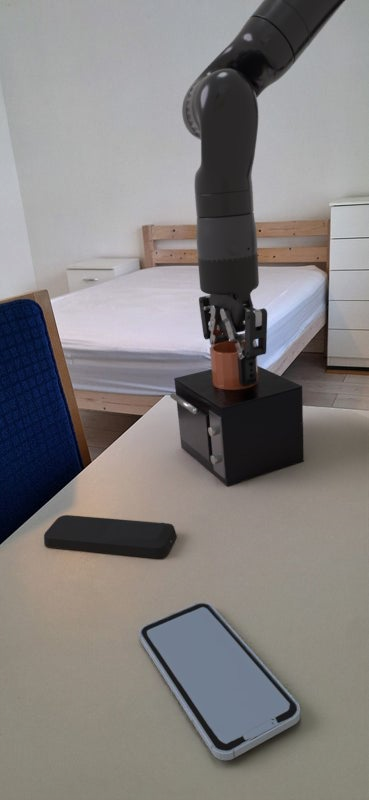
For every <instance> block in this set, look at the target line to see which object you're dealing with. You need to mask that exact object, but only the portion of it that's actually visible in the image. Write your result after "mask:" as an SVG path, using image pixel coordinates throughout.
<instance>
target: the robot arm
mask: <svg viewBox="0 0 369 800" xmlns="http://www.w3.org/2000/svg"><path fill="white" fill-rule="evenodd" d="M345 2H346V0H262V2H260V4H259V5H258V7H257V8H256V9H255V10H254V11H253V13H252V14H251V15H250V17H249V18H248V19H247V21H245V23H244V25H243V26H242V28H240V31H239V32H238V33H237V35H236V36H235V37H234V38H233V40H232V41H231V42H230V43H229V44H228V45H227V46H226V47H225V48H224V49H223V50H222V51H220V53H219V54H218V55H217V56H216V57H215V58H214V59H213V60H212V61H211V63H209V65H207V67H205V68H204V69H203V71H202V72H201V73H200V74H199V76H197V78H195V80H194V81H193V82H192V84H191V85H190V86H189V88H188V89H187V91H186V93H185V95H184V98H183V101H182V106H181V115H182V116H181V117H182V122H183V124H184V126H185V129H186V130H187V131H188V132H189V133H190V134H191V135H192V136H193V137H194V138H195V139H197V140H200V165H199V167H198V169H197V170H196V172H195V175H194V183H193V184H194V185H193V186H194V199H195V200H194V201H195V212H196V213H195V214H196V229H195V239H196V251H197V252H196V253H197V265H198V266H197V267H198V277H199V279H198V280H199V288H200V291H201V292H202V293H204V294H207V295H203V296H200V297H199V298H198V304H199V312H200V319H201V327H202V335H203V338H204V339H205V340H209V344H210V347H211V346H212V345H214V344H217V343H220V342H224V341H230V342H232V343H234V344H235V347H236V351H237V354H238V357H239V359H238V367H239V383H240V384H241V385H242V386H249V385H252V384H255V383H256V381H257V375H256V357H257V358H258V356H262V355H266V353H267V342H268V341H267V340H268V339H267V338H268V311H267V308H259V309H257V308H255V307H254V303H253V301H252V296H251V293H252V292H253V291H254V290H256V289H258V287H259V285H260V280H259V277H260V276H259V253H258V233H257V226H256V220H255V213H254V211H255V210H254V191H253V190H254V187H253V178H252V177H253V176H252V174H253V165H254V162H255V156H256V149H257V139H258V131H259V103H258V97H259V96H260V95H261V94H262V93H263V92H264V91H265V90H266V89H267V88H268V87H269V86H271V85H273V84H274V83H276V82H278V81H279V80H280V79H282V78H283V76H285V75H286V74H287V72H288V71H290V70H291V68H292V67H293V66H294V65H295V63H296V62H297V61H298V59H299V58H300V57H301V56H302V55H303V53H304V52H305V51H306V50H307V49H308V47H309V46H310V45H311V44H312V42H313V41H314V40H315V39H316V37H317V36H318V35H319V33H320V32H321V31H322V30H323V29H324V27H326V25H327V24H328V22H329V21H330V20H331V19H332V17H333V16H334V15H335V14H336V13H337V12H338V10H339V9H340V8H341V6H343V4H344V3H345ZM243 332H244V333H243ZM242 341H245V349H244V347H243V344H242Z"/></svg>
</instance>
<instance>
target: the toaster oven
mask: <svg viewBox="0 0 369 800" xmlns="http://www.w3.org/2000/svg"><path fill="white" fill-rule="evenodd" d="M257 366H258V382H257V383H256V384H255V385H254V386H251V387H249V388H245V389H239V390H225V389H220V388H217V387H215V386H214V385H213V380H212V369H211V368H210V369H206V370H203V371H198V372H194V373H190V374H186V375H181V376H178V377H174V378H173V380H174V387H175V388H174V390H175V392H171V393H170V396H169V397H170V398H171V399H172V400H174V401H175V402H176V406H177V407H176V409H177V419H178V427H179V428H178V429H179V437H180V438H179V439H180V447H181V449H183V450H184V451H185V452H186V453H187V454H189V456H190V457H192V458H193V459H194V460H195V461H197V463H199V464H200V465H201V466H203V467H204V468H205V469H206V470H207V471H209V472H210V473H211V474H212V475H213V476H215V478H217V479H218V480H219V481H220V482H221V483H222V484H223V485H225V486H226V487H230V486H233V485H236V484H239V483H242V482H245V481H249V480H251V479H254V478H258V477H261V476H263V475H267V474H270V473H272V472H275V471H279V470H281V469H285V468H288V467H291V466H294V465H297V464H300V463H303V462H304V461H305V457H304V456H305V454H304V453H305V452H304V417H303V416H304V408H303V406H304V403H303V386H302V385H301V384H299V383H296V382H294V381H292V380H290V379H288V378H286V377H284V376H281V375H280V374H277V373H275V372H273V371H270V370H268V369H266V368H264V367H262V366H259V365H257Z"/></svg>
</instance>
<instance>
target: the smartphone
mask: <svg viewBox="0 0 369 800" xmlns="http://www.w3.org/2000/svg"><path fill="white" fill-rule="evenodd" d="M138 636H139V641H140V643H141V644H142V646H143V648H144V649H145V651H146V653H147V654H148V656H149V657H150V659H151V660H152V661H153V663H154V665H155V666H156V668H157V669H158V671H159V672H160V675H162V677H163V679H164V680H165V682H166V683H167V685H168V686H169V688H170V690H171V691H172V693H173V695H174V696H175V698H176V699H177V701H178V702H179V704H180V705H181V707H182V708H183V710H184V711H185V713H186V715H187V717H188V718H189V719H190V721H191V722H192V724H193V725H194V727H195V728H196V730H197V731H198V733H199V735H200V736H201V738H202V740H203V742H204V743H205V744H206V746H207V747H208V749H209V750H210V752H211V754H212V755H213V756H214V757H215V758H216V759H218V760H220V761H231V760H233V759H235V758H237V757H238V756H241V755H242V754H244V753H246V752H248V751H251V749H253V748H255V747H257V746H259V745H260V744H262V743H264V742H266V741H268V740H269V739H271V738H273V737H275V736H277V735H278V734H280V733H283V732H284V731H286V730H288V729H289V728H291V727H293V726H294V725H296V724H297V723H298V722H299V721H300V718H301V708H300V704H299V702H297V700H296V699H295V698H294V696H292V694H291V693H290V692H289V691H288V690H287V689H286V688H285V686H284V685H283V684H282V683H281V682H280V681H279V680H278V678H276V676H275V675H274V673H272V671H270V669H269V668H268V667H267V666H266V665H265V664H264V663H263V662H262V660H261V659H260V658H259V657H258V656H257V655H256V654H255V652H253V650H252V649H251V648H250V647H249V646H248V645H247V644H246V642H245V641H244V640H243V639H242V638H241V637H240V636H239V634H238V633H237V632H236V631H235V629H233V627H232V626H231V625H230V624H229V622H228V621H226V619H224V617H223V616H222V615H221V614H220V612H218V611H217V609H216V608H215V607H214V606H213V605H212V604H211V603H209V602H206V601H199V602H196V603H194V604H191V605H188V606H186V607H184V608H182V609H179V610H177V611H175V612H172V613H170V614H167V615H165V616H163V617H161V618H158V619H156V620H153V621H151V622H148V623H146V624H145V625H143V626H141V627H140V629H139V631H138Z"/></svg>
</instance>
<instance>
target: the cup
mask: <svg viewBox="0 0 369 800" xmlns="http://www.w3.org/2000/svg"><path fill="white" fill-rule="evenodd" d="M242 344H243V347H244V349H245V340H244V341H242ZM209 354H210V366H211V367H210V369H212V380H213V385H214V386H215V387H217V388H220V389H225V390H239V389H245V388H249V387H251V386H254V385H255V384H256V383H257V382H258V366H259V365H258V356H257V357H256V375H257V381H256V383H255V384H252V385H249V386H242V385H241V384H240V383H239V367H238V359H239V357H238V354H237V351H236V347H235V344H234V343H232V342H230V340H229V341H224V342H220V343H217V344H214V345H212V346H211V345H210V347H209Z"/></svg>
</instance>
